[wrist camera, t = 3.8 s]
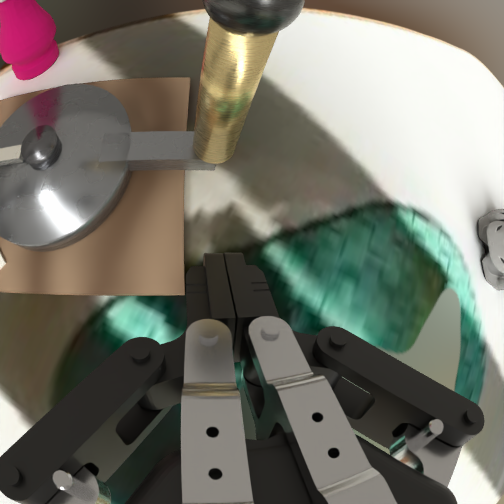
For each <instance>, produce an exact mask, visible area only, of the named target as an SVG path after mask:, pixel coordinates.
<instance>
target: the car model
mask: <svg viewBox="0 0 504 504" xmlns="http://www.w3.org/2000/svg"><path fill="white" fill-rule="evenodd" d="M478 233H479V238H480V240H481V241H482V242H483V244H484V246H485V250H486V254H485V257H484V259H483V260H482V266H483V271H484V276H485V279H486V281H487V282H488V283H489V284H491V285H492V286H493V287H494V288H495V289H496V290H504V209H498V210H494V211H491V212H489V213H488V214H487V215H485V216H483V217H481V218H480V219H479V221H478Z"/></svg>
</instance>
